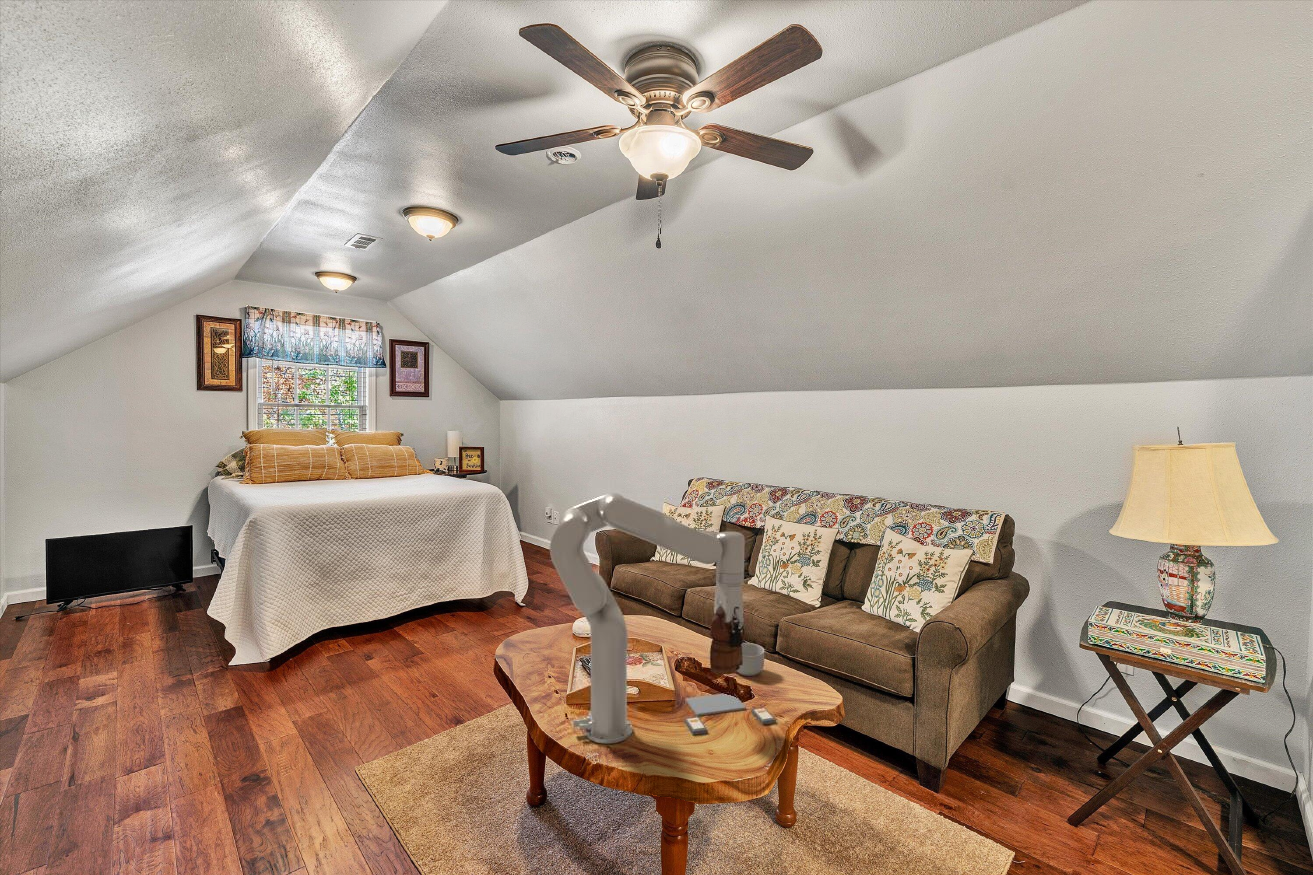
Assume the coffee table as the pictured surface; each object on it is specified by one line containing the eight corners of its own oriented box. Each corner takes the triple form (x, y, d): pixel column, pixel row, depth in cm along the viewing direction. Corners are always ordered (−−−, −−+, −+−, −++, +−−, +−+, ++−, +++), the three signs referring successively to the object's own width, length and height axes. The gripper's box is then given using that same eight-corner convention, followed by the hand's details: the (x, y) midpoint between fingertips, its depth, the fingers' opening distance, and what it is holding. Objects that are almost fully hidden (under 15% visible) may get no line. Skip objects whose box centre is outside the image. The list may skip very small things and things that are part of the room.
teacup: (769, 670, 194) (769, 646, 194) (756, 681, 185) (756, 656, 185) (731, 661, 202) (731, 638, 202) (717, 672, 193) (717, 648, 193)
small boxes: (692, 734, 152) (692, 730, 152) (684, 722, 159) (684, 717, 159) (775, 722, 159) (775, 718, 159) (764, 711, 165) (764, 706, 165)
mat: (696, 715, 162) (696, 713, 162) (685, 700, 172) (685, 698, 172) (746, 709, 166) (746, 707, 166) (732, 694, 176) (732, 692, 176)
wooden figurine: (727, 678, 152) (730, 610, 151) (706, 671, 155) (709, 604, 155) (747, 664, 161) (750, 600, 161) (726, 658, 165) (730, 595, 165)
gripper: (705, 570, 166) (704, 631, 166) (729, 586, 149) (728, 653, 149) (730, 569, 168) (728, 629, 168) (756, 584, 151) (754, 650, 151)
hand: (728, 640), depth 159 cm, fingers closed on wooden figurine, 8 cm apart
